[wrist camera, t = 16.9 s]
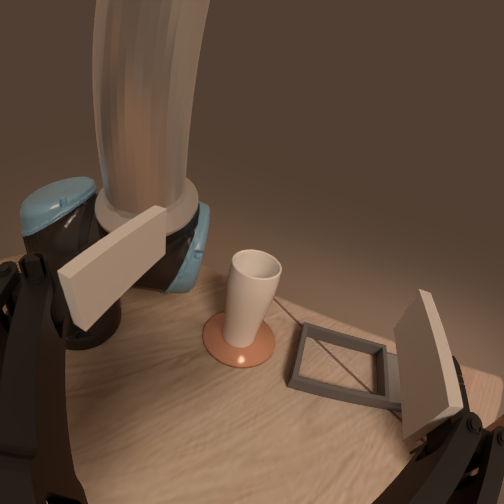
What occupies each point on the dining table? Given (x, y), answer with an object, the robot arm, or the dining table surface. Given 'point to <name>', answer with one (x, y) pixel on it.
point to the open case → (384, 399)
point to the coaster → (234, 355)
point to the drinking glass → (249, 295)
